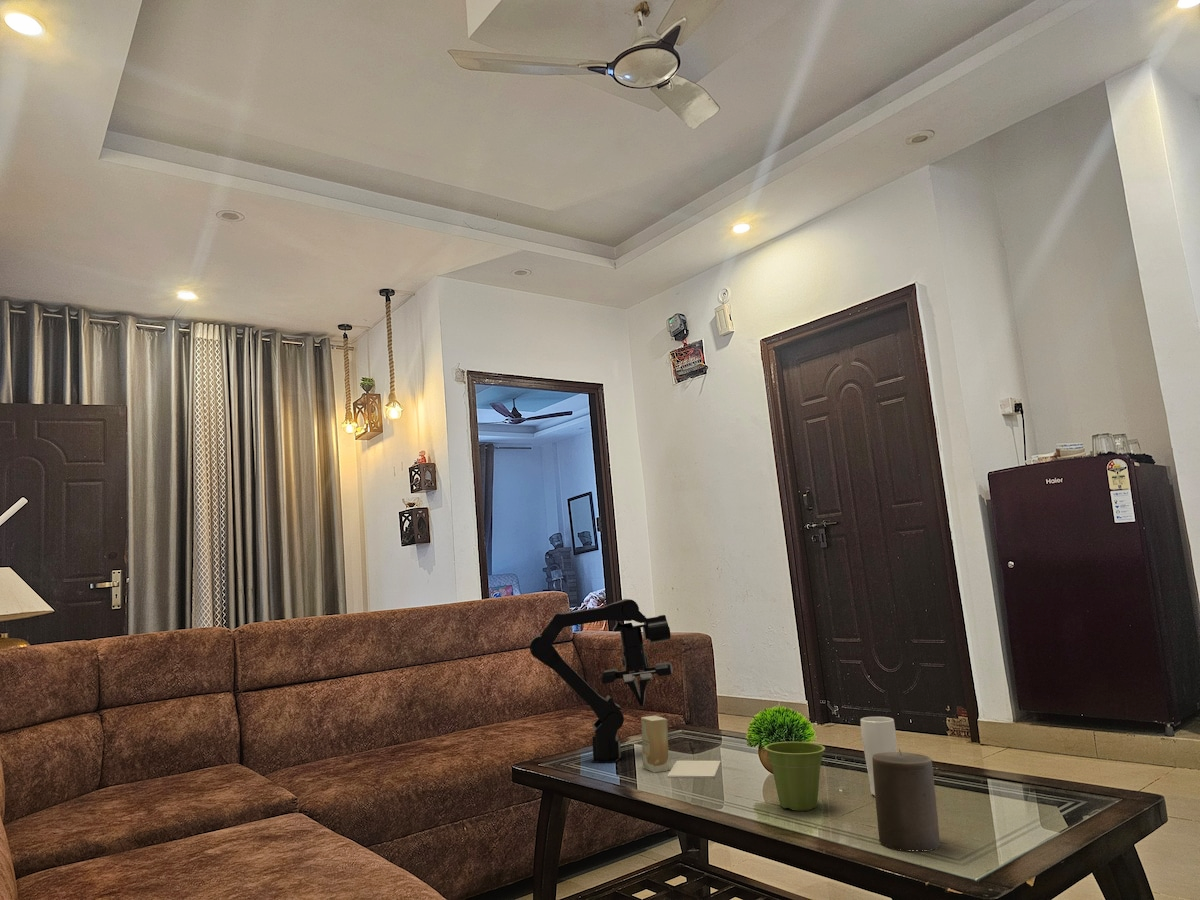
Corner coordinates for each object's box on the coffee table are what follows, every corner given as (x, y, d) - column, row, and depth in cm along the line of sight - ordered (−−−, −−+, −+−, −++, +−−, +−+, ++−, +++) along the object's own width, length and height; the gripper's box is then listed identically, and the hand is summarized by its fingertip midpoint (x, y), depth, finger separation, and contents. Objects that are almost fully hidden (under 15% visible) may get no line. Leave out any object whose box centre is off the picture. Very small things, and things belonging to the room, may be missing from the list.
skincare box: (642, 768, 196) (639, 716, 199) (657, 765, 198) (655, 714, 200) (654, 773, 191) (651, 720, 193) (670, 770, 193) (667, 718, 195)
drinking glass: (886, 789, 166) (878, 715, 169) (909, 797, 160) (901, 719, 163) (860, 794, 164) (852, 718, 166) (883, 801, 158) (875, 723, 160)
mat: (667, 777, 186) (667, 775, 186) (677, 762, 201) (677, 760, 201) (714, 777, 183) (714, 775, 184) (720, 762, 199) (720, 760, 199)
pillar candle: (884, 852, 129) (875, 755, 132) (874, 833, 139) (867, 743, 141) (947, 853, 127) (937, 755, 130) (933, 834, 137) (924, 743, 139)
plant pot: (792, 818, 150) (787, 755, 151) (757, 804, 160) (753, 745, 162) (843, 809, 154) (837, 748, 156) (805, 795, 165) (801, 739, 167)
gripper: (669, 638, 220) (679, 696, 217) (604, 647, 223) (612, 704, 220) (666, 642, 209) (675, 703, 206) (597, 652, 212) (606, 712, 209)
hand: (642, 705), depth 211 cm, fingers closed
